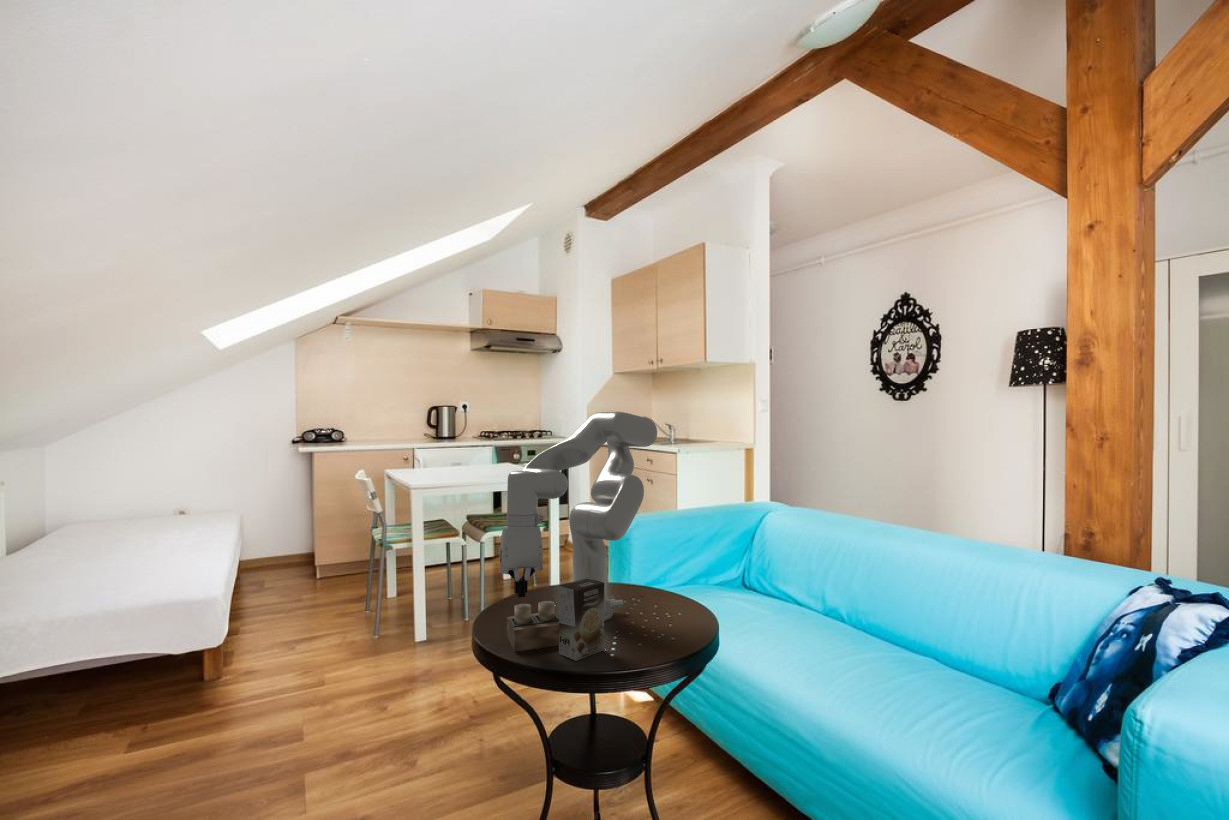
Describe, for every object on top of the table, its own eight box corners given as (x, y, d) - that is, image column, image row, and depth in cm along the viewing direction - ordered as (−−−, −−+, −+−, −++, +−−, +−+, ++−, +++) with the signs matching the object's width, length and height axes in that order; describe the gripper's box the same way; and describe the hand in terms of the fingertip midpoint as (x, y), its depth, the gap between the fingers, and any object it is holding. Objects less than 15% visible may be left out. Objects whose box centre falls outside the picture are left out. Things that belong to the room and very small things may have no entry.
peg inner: (552, 618, 144) (552, 600, 145) (556, 623, 141) (556, 604, 141) (536, 620, 143) (536, 602, 143) (540, 625, 139) (540, 606, 139)
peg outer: (529, 621, 142) (528, 603, 142) (532, 626, 139) (532, 607, 139) (513, 623, 141) (513, 604, 141) (516, 628, 137) (516, 609, 137)
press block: (553, 630, 147) (553, 610, 148) (563, 644, 138) (563, 622, 138) (506, 637, 143) (506, 615, 143) (514, 651, 134) (514, 629, 134)
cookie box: (576, 662, 128) (576, 590, 128) (558, 654, 132) (558, 585, 133) (605, 650, 135) (604, 582, 135) (586, 643, 139) (586, 577, 139)
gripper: (547, 517, 146) (546, 589, 146) (489, 520, 141) (487, 594, 140) (555, 521, 139) (554, 597, 139) (494, 524, 134) (492, 603, 133)
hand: (520, 595), depth 139 cm, fingers closed
